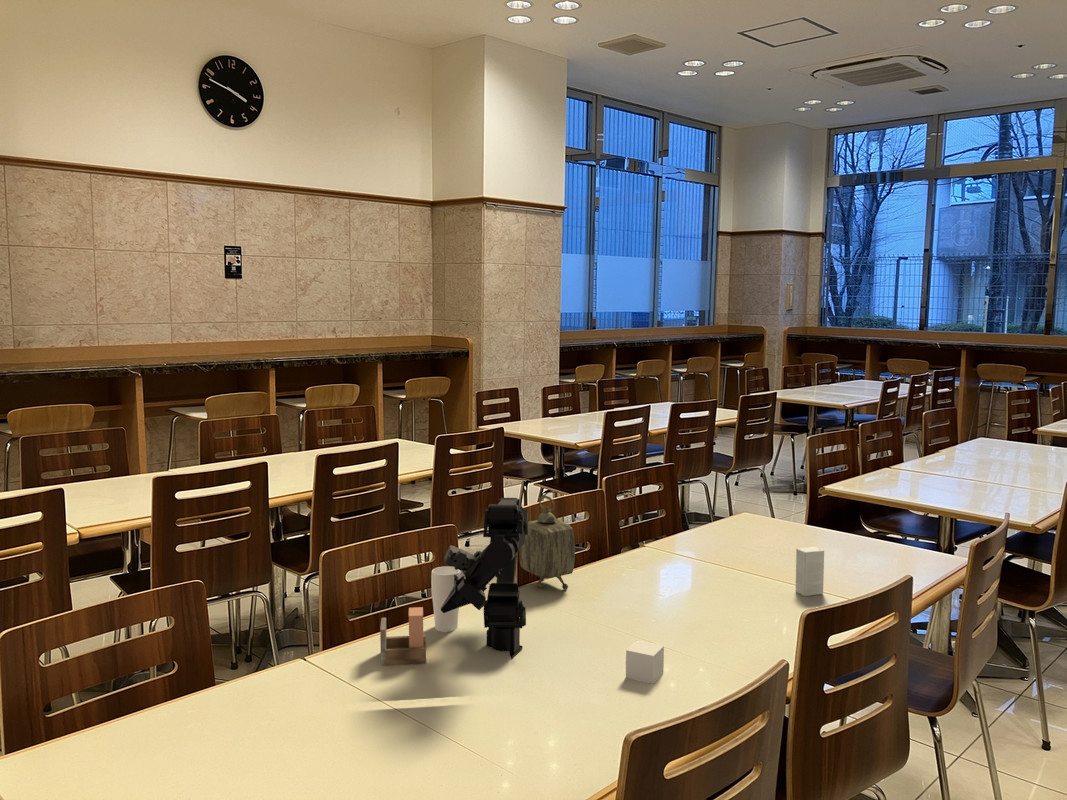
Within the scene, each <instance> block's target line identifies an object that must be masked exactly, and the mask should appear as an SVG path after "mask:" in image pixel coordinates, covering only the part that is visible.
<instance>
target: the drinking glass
mask: <svg viewBox="0 0 1067 800" xmlns="http://www.w3.org/2000/svg"><path fill="white" fill-rule="evenodd" d="M460 573H461V571H460V570H459V569H457V570H456V569H455V568H454V567H453V566H449V565H446V566H438V567H435V568H433V569H432V570H431V574H430V575H431V578H430V579H431V585H430V586H431V596H432V597H431V598H432V607H433V615H434V616H433V618H434V629H435V630H436V631H437V632H441V633H442V632H444V633H450V632H454V631H456V630H457V629H458V627H459V612H460V611H459V610H460V607H459V608H456V609H454V610H451V611H448V612H446V613H443V612H442V611H441V607H442V605H443V604H444V602H445V600H446V599H447V597H448V595H449V594H450V592H451V590H452V588H453V586H454V574H455V575H456V576H458V575H459V574H460Z"/></svg>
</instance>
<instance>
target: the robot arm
mask: <svg viewBox="0 0 1067 800" xmlns="http://www.w3.org/2000/svg"><path fill="white" fill-rule="evenodd" d="M528 522H529V514H528V511H527V510H526V508H524V507H523V506H522V505H521V499H520V498H518V497H501V498H498V503H497V504H496V503H494V504H493V503H490V504H489V505H488V508H486V509H485V510H484V521H483V534H482V536H483V538H490V541H489V544H488V545H487V546H486V547H485V548H484V549H483V550H482V551H481V550H478V551H476V552H475V553H474V554H473V553H471V552H469V551H466V550H465V549H462V548H459V547H456V546H454V545H449V547H448V549H447V551H446V553H445V556H444V557H443V559H444V564H445V565H446V566H450V567H454V568H455V569H456V570H457V569H459V570H460V574H459V575H458V576H456V575H455V574H454V586H453V588H452V590H451V592H450V594H449V595H448V597H447V599H446V600H445V602H444V604H443V605H442V607H441V611H442V612H443V613H446V612H448V611H451V610H454V609H456V608H459V609H460V608H461V607H464V606H468V605H472V606H473V607H474V608H475V609H477V610H478V611H481V610H482V608H483V626H484V629H486V628H488V629H487V630H486V646H487V647H488V648H490V649H493V651H494V650H495V651H497V652H509V657H510V659H513V658H514V657H515V656H516V655H517V654H519V652H520V651H522V649H523V647H524V646H523V645H521V643H520V641H521V640H520V639H521V638H520V637H521V635H520V633H521V632H520V631H521V629H523V627H525V626H527V613H526V612H527V610H526V607H525V606H524V603H523V600H521V592H520V590H519V585H518V583H517V582H516V573H517V561H518V554H519V548H520V547H521V546H522V545H524V543H525V535H528ZM494 578H496V582H491V581H492V580H493V579H494ZM490 582H491V583H490ZM489 583H490V584H489ZM488 584H489V586H488V591H487V598H486V593H485V591H486V590H487V585H488Z"/></svg>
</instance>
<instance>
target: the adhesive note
mask: <svg viewBox="0 0 1067 800" xmlns="http://www.w3.org/2000/svg"><path fill="white" fill-rule="evenodd" d="M664 654H665V645H662V644H657V643H651V642H647V641H641V640H636V641H635V642H634V643H633V644H632V645H630V646H629V647H628V648H627V649H626V651H625V678H626V679H630V680H634V681H639V682H643V683H647V684H654V683H656V682H657V680H659V678H660V677H661V676H662V675H663V674H664V664H665V663H664V659H665V655H664Z"/></svg>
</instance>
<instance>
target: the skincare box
mask: <svg viewBox="0 0 1067 800" xmlns="http://www.w3.org/2000/svg"><path fill="white" fill-rule="evenodd" d="M795 553H796V555H795V556H796V557H795V593H797V594H799V595H801V596H803V597H810V596H816V595H823V594H824V574H825V573H824V572H825V571H824V570H825V550H824V549H821V548H820V547H817V546H809V547H800V548H799V547H798V548H796V551H795Z"/></svg>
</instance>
